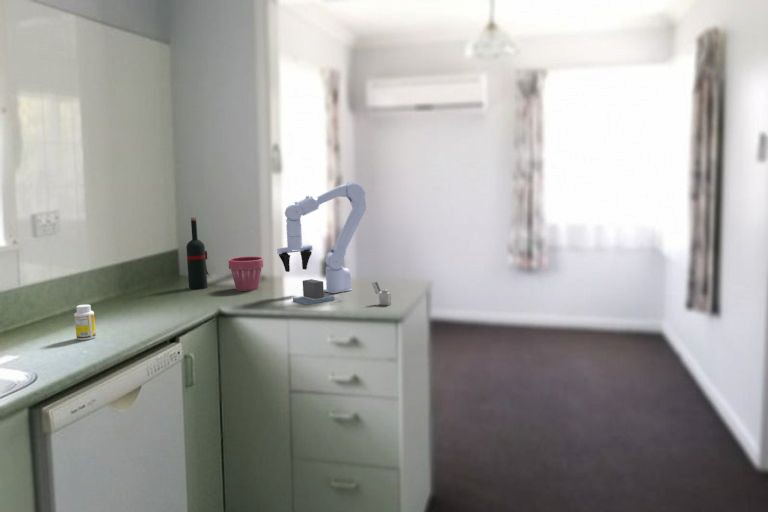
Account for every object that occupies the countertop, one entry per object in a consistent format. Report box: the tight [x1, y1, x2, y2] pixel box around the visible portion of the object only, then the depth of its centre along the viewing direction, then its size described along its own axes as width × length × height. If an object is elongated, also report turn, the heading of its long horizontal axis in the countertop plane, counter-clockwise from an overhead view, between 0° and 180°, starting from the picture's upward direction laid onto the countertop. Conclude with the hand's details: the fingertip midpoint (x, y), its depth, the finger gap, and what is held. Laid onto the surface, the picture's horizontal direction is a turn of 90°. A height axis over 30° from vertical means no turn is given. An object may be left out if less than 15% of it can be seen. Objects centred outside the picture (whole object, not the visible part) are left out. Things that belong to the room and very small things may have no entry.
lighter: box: [371, 280, 392, 306], centre depth 253 cm, size 7×2×8 cm, turn 54°
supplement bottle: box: [74, 304, 97, 341], centre depth 216 cm, size 6×6×10 cm
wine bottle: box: [185, 216, 210, 291], centre depth 300 cm, size 8×10×30 cm
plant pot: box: [228, 256, 264, 292], centre depth 293 cm, size 14×14×13 cm
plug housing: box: [302, 279, 325, 299], centre depth 264 cm, size 4×8×6 cm, turn 38°
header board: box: [292, 293, 335, 306], centre depth 264 cm, size 12×10×4 cm
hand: (296, 270), depth 277 cm, fingers open, 7 cm apart
